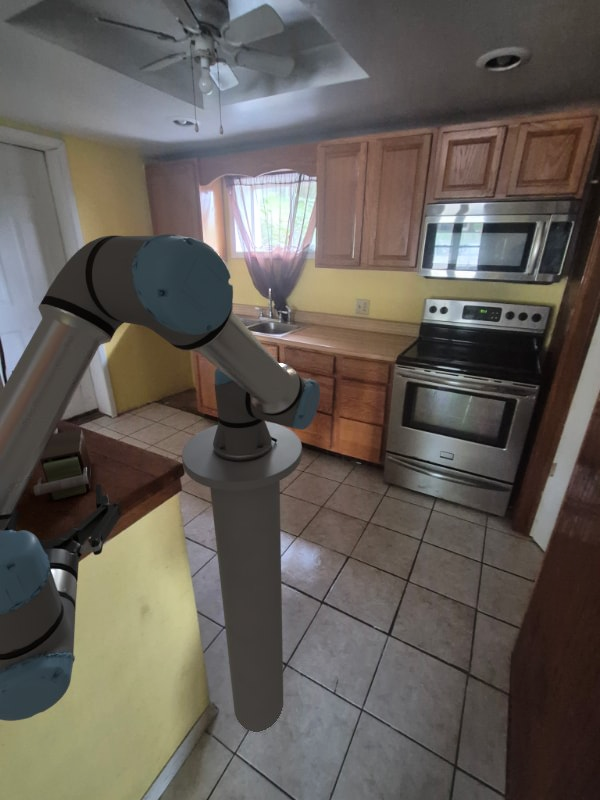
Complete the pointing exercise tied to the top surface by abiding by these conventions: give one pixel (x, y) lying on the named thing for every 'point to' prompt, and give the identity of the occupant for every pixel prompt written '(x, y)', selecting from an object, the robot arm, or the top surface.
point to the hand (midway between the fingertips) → (59, 499)
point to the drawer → (63, 478)
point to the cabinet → (68, 450)
